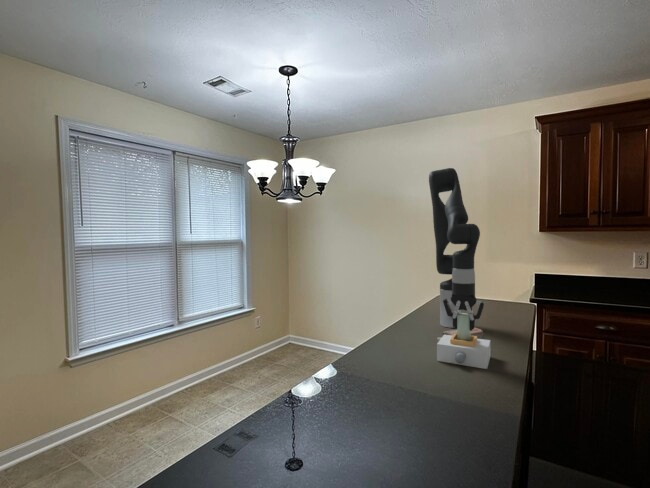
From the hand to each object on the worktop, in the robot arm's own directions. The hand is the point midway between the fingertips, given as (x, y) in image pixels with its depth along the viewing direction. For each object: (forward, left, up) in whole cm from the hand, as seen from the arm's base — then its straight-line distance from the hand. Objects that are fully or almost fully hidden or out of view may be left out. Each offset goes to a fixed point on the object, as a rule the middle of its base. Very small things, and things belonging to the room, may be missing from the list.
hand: (463, 329), depth 125 cm
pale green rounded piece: (0, 0, -4) cm, 4 cm away
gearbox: (+1, 0, -11) cm, 11 cm away
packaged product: (-20, -4, -11) cm, 24 cm away
